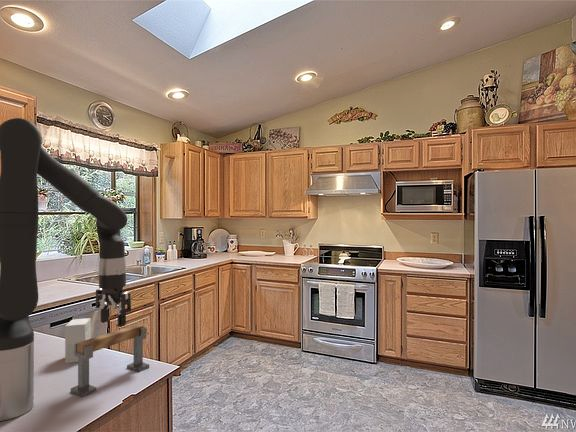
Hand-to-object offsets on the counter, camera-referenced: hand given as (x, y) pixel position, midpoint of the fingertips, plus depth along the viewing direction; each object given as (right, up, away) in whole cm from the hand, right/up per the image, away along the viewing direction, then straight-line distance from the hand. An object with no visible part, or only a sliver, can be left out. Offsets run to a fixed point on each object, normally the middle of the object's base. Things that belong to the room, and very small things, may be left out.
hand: (113, 324), depth 107 cm
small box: (-21, -17, +16) cm, 31 cm away
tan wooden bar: (0, -6, 0) cm, 6 cm away
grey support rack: (0, -17, 0) cm, 17 cm away
